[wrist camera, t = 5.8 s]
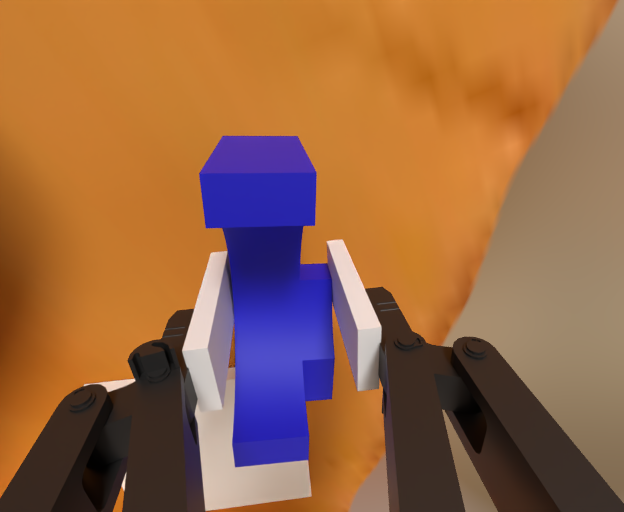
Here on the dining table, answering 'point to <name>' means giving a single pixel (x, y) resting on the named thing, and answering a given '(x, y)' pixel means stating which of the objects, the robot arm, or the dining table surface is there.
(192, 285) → the dining table surface
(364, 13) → the dining table surface
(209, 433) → the white pad
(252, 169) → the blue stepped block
